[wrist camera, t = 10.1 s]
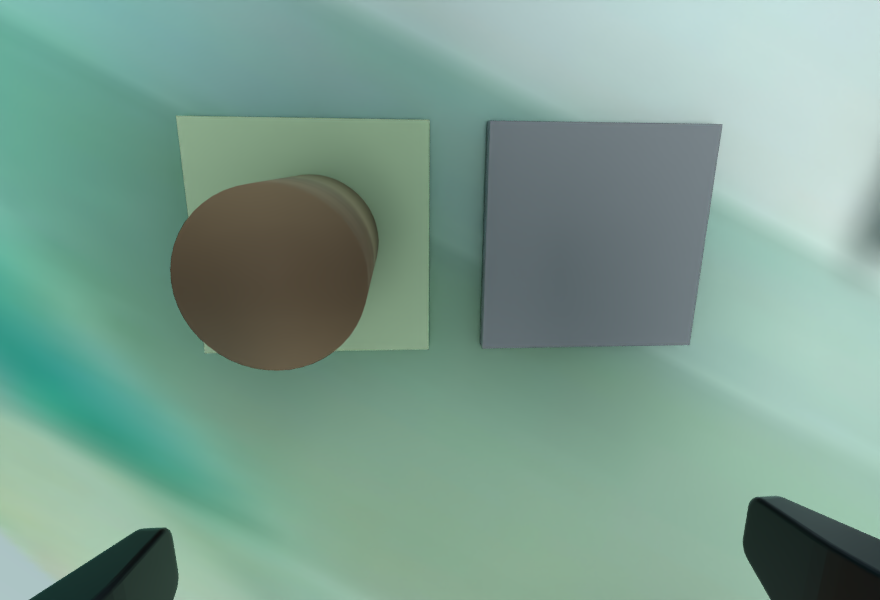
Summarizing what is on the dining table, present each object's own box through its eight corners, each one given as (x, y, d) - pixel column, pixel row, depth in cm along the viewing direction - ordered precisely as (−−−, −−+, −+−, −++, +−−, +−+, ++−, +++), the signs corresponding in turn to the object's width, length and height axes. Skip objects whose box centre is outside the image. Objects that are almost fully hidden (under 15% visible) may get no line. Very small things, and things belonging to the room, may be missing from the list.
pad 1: (428, 344, 19) (428, 349, 19) (209, 348, 19) (204, 353, 18) (428, 120, 17) (429, 119, 17) (182, 116, 17) (175, 115, 16)
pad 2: (682, 340, 20) (689, 344, 20) (480, 343, 19) (482, 348, 19) (713, 125, 18) (722, 124, 17) (487, 121, 17) (490, 120, 17)
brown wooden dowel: (379, 301, 18) (370, 368, 12) (253, 303, 18) (183, 372, 12) (377, 174, 17) (365, 183, 11) (242, 173, 17) (157, 181, 11)
